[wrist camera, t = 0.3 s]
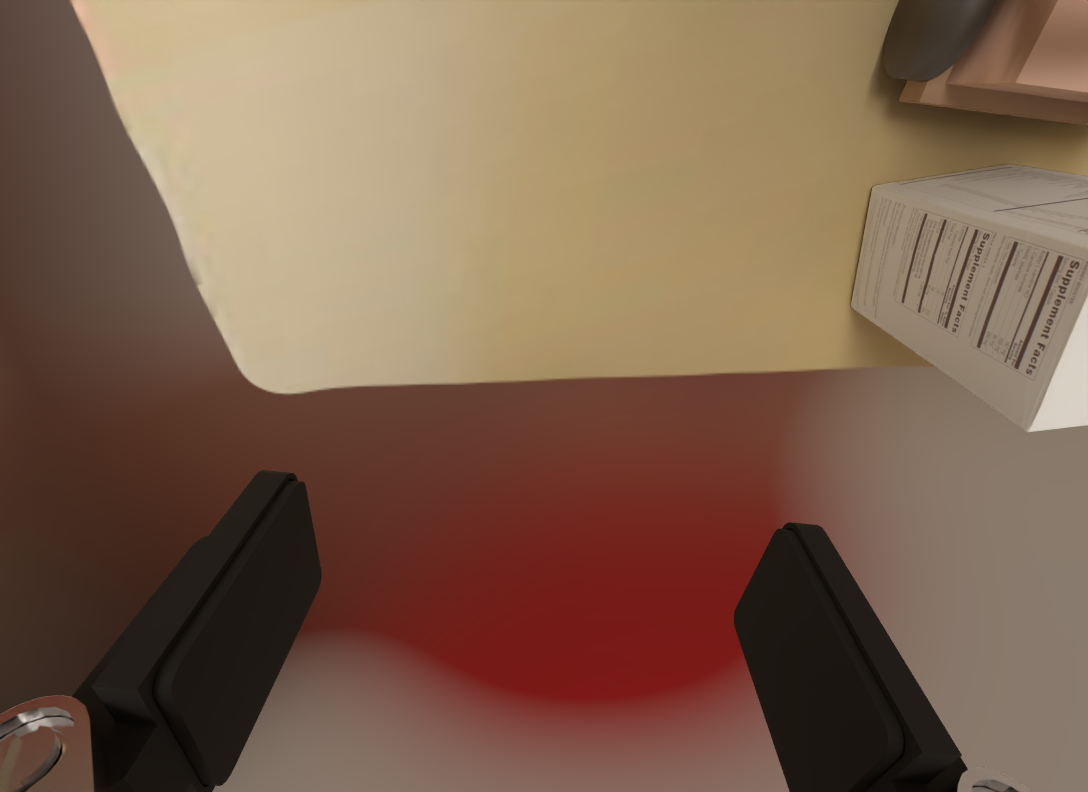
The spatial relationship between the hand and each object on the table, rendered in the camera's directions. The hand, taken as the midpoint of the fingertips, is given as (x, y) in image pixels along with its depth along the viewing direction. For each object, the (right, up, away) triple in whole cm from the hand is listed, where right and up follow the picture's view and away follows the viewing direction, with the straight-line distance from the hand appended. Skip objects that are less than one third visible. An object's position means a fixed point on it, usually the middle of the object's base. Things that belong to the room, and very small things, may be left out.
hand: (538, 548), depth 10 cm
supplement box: (+28, +14, +26) cm, 41 cm away
